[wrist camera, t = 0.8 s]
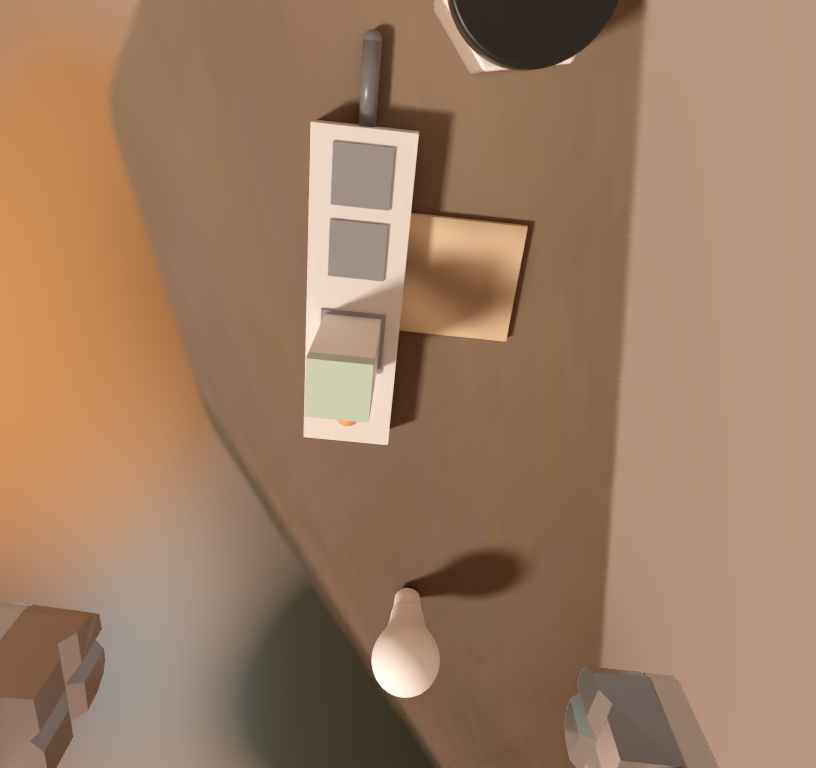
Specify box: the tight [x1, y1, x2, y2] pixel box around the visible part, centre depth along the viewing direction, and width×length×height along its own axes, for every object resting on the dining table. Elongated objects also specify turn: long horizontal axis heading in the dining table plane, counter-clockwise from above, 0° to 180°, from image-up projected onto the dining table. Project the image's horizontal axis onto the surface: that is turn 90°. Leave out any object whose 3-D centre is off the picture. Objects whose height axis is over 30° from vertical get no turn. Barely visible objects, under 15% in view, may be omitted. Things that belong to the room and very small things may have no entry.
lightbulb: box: [372, 588, 440, 698], centre depth 55 cm, size 6×6×11 cm
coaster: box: [399, 213, 528, 341], centre depth 45 cm, size 9×9×1 cm
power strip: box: [304, 30, 419, 445], centre depth 43 cm, size 30×7×3 cm, turn 174°
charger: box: [305, 314, 381, 423], centre depth 41 cm, size 4×4×8 cm
